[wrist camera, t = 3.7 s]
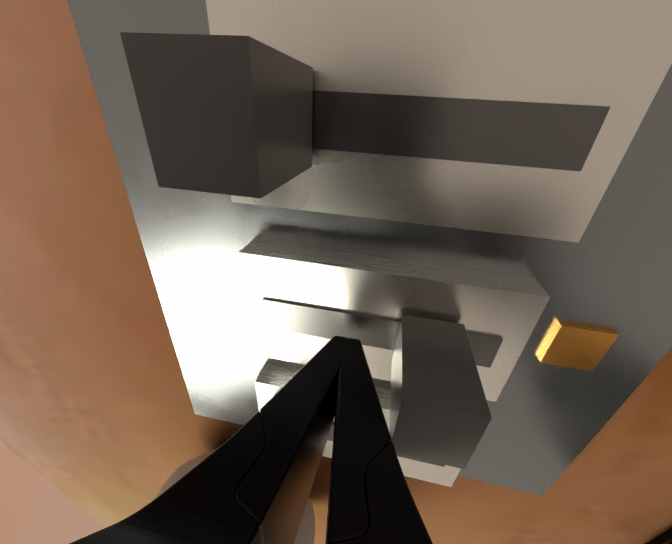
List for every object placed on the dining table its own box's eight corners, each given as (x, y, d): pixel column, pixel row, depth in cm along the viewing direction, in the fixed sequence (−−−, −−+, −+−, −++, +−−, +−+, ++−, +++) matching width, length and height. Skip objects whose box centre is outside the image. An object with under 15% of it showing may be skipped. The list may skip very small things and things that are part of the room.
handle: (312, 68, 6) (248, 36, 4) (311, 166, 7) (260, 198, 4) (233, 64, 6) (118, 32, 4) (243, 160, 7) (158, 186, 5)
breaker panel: (880, -14, 6) (1177, -90, 4) (530, 462, 15) (553, 524, 13) (109, -14, 8) (3, -61, 6) (210, 391, 17) (182, 432, 15)
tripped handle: (463, 324, 8) (491, 418, 6) (447, 371, 9) (464, 469, 7) (401, 314, 9) (402, 400, 6) (391, 361, 10) (388, 451, 7)
